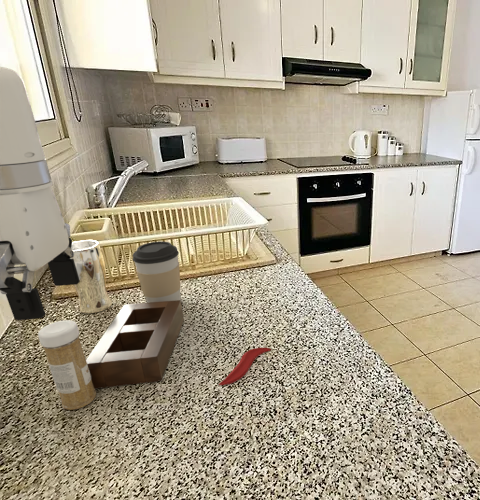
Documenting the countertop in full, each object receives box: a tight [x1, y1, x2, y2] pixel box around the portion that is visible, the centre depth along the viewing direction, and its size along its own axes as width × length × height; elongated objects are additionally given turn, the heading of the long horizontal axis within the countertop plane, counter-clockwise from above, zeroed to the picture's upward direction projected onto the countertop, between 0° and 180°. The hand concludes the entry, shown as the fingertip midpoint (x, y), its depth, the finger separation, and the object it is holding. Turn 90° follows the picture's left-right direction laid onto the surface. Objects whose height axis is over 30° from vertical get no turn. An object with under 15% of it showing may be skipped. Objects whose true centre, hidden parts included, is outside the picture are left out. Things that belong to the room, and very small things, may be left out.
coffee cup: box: [132, 240, 182, 303], centre depth 83 cm, size 9×9×15 cm
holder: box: [86, 299, 185, 390], centre depth 70 cm, size 11×19×5 cm, turn 12°
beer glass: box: [70, 239, 113, 315], centre depth 82 cm, size 7×7×15 cm
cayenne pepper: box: [218, 347, 272, 386], centre depth 67 cm, size 12×5×2 cm, turn 141°
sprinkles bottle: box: [37, 319, 97, 411], centre depth 56 cm, size 5×5×13 cm
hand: (50, 299), depth 52 cm, fingers open, 9 cm apart
